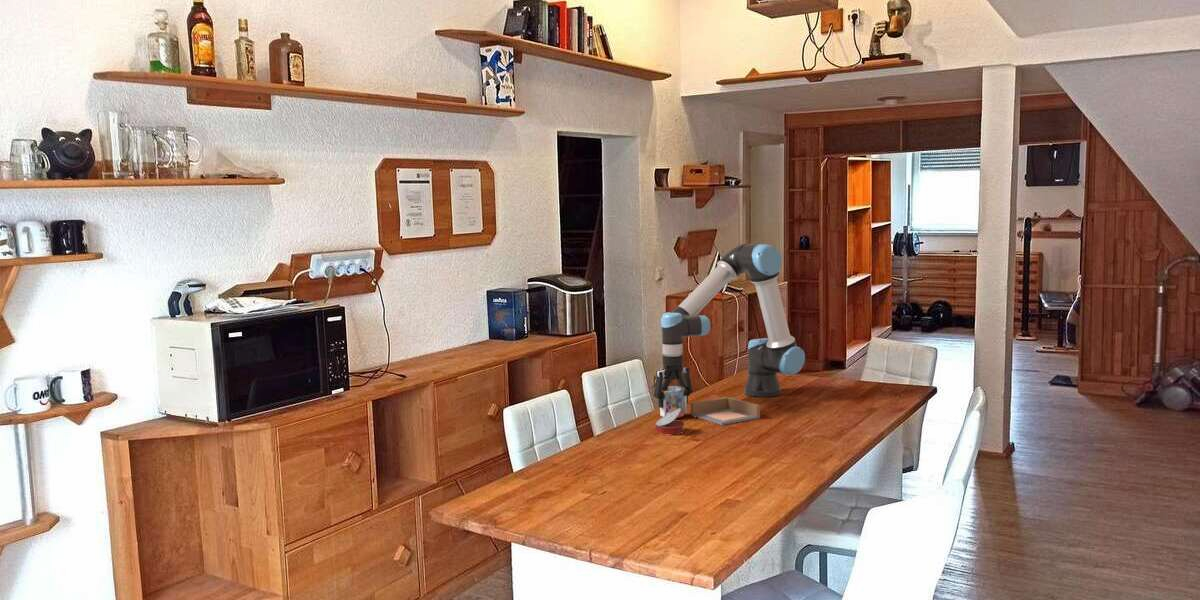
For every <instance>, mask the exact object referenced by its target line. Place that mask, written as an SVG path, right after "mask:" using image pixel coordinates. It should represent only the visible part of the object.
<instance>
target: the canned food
mask: <svg viewBox="0 0 1200 600" xmlns="http://www.w3.org/2000/svg"><path fill="white" fill-rule="evenodd" d="M680 411H681V409H677V410H675V411H673V412H671V413H669V414H668V415H666V416H664V417H663V416H662V417H661V418H659V419H658V421H656V422H655V432H656V431H657V432H658V433H662V434H678V433H681V432H684V433H685V429H684V428H685V423H684V422H682V421H680V420H676V419H677V418H676V417H677V416H678V414H679V412H680ZM658 433H657V434H658ZM662 434H661V435H662ZM678 435H679V434H678Z"/></svg>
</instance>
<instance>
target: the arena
mask: <svg viewBox="0 0 1200 600" xmlns="http://www.w3.org/2000/svg"><path fill="white" fill-rule="evenodd" d="M691 415H693V416H696V417H699V418H702V419H705V420H708V421H707V422H709V421H711V422H710V423H712V422H714V423H713V424H715V423H717V424H716V425H718V424H720V425H719V426H726V424H727V425H732V424H736V422H738V423H742V421H743V422H748V420H749V421H754V420H758V418H759V419H760V417H761V406H760V404H757V403H753V402H750V401H746V400H741V399H739V398H734V397H730V396H725V397H719V398H712V399H706V400H701V401H700V400H699V401H693V402H690V416H691ZM696 417H695V418H696ZM699 418H698V419H699ZM702 419H701V420H702ZM705 420H704V421H705ZM731 423H732V424H731Z"/></svg>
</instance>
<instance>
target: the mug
mask: <svg viewBox="0 0 1200 600" xmlns="http://www.w3.org/2000/svg"><path fill="white" fill-rule="evenodd" d="M684 390H685V388H684V387H680V386H679V385H670V386H668V389H667V391H663V390H661V392H664V395H665V397H664V399H666V415H668V414H669V413H671V412H673V411H675V410H677V409H681V411H680V412H679V414H678V416H677V417H676V418H675V419H678V418H681V417H684V416H685V414H686V413H684V411H683V408H682V397H683V393H684ZM666 415H665V416H666Z"/></svg>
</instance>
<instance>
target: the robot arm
mask: <svg viewBox="0 0 1200 600" xmlns="http://www.w3.org/2000/svg"><path fill="white" fill-rule="evenodd" d="M782 257H783V256H782V254H781V252H780V251H779V250H778V249H777V248H776V247H775V246H773V245H772V244H768V243H767V244H766V243H747V242H746V243H741V244H739V245H736V246H735V247H733V248H732V249H731V250H729V251H728V252H727V253H726V254H724V255H723V256H722V257H721V259H720V260H718V262H717V264H716V265H717V266H716V267H715V268H714V269H713V270H712V271H711V272H710V273H709V274H708V275H707V276H706V278H704V279H703V280H702V281H701V282H700V283H699V284H698V285H697V287H695V288H694V290H692V292H690V294H689V295H688V296H687V297H686V298H685V299H684V300H683V301H682V302H681V303H680V304H679V305H678V306H676V308H675V309H674V310H673V311H668V312H665V313H663V314H662V317H661V319H660V324H661V325H660V326H661V339H662V340H661V341H662V342H661V343H662V346H661V348H662V349H661V350H662V353H661V354H663V355H662V357H661V358H662V367H663V368H662V370H660V371H659V370H656V371H655V375H656V378H655V386H654V390H653V391H654V392H653V397H654V398H656V399H657V400H658V401H657V402H658V408H659V412H660V413H659V416H660V417H662V418H663V417H664V416H665V415H666V399H664V397H665V395H664V392H661V390H663V391H667V389H668V386H669V385H670V383H672V381H673V380H676V383H677V386H680V387H684V388H685V390H684V393H683V397H682V408H683V411H684V413H685V414H688V409H687V408H688V404H689V396H691V394H693V388H692V386H693V385H692V383H691V376H690V368H689V367H686V366H683V365H684V362H683V361H684V360H683V359H684V358H683V357H684V355H683V353H684V350H683V347H684V346H683V338H691V337H702V336H705V335H708V334H709V333H710V331H711V320H710V318H709V317H707V316H706V315H699V313H700V312H701V311H702V310H703V309H704V308H705V307H706V306H707V305H708V304H709V303H710V302H711V300H713V299H714V298H715V297H716V296H717V295H718V293H720V291H721V290H722V289H723V288H724V287H726V285H727V284H728V283H729V282H730V281H731V280H735V279H738V277H739V276H740V275H742V274H748V278H749V281H750V283H751V284H753V285H754V286H755V289H756V294H757V298H758V301H759V306H760V310H761V314H762V318H763V322H764V325H765V331H766V334H767V335H766V336H767V337H764V338H754V339H750V340H749V341H748V344H747V345H748V346H747V347H748V348H747V364H748V366H747V369H748V371H747V372H748V373H747V377H746V381H745V386H744V387H743V394H744V393H745V394H744V395H745V396H749V397H754V396H756V397H757V398H772V396H773V397H778V396H781V394H782V387H781V385H780V382H779V381H780V380H779V379H778V376H777V375H778V373H779V374H782V375H783V376H785V375H788V376H793V375H796V374H797V373H799V372H800V371H801V370H802V368H803V366H804V365H805V362H806V354H805V351H804V350H803V349H802V348H801V347H800V346H797V341H796V339H795V337H794V336H792V335H791V333H790V329H789V325H788V321H787V317H786V312H785V309H784V304H783V300H782V295H781V292H780V288H779V283H778V280H777V279H778V277H779V276H780V270H781V268H782V267H781V266H782V265H783V258H782Z"/></svg>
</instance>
